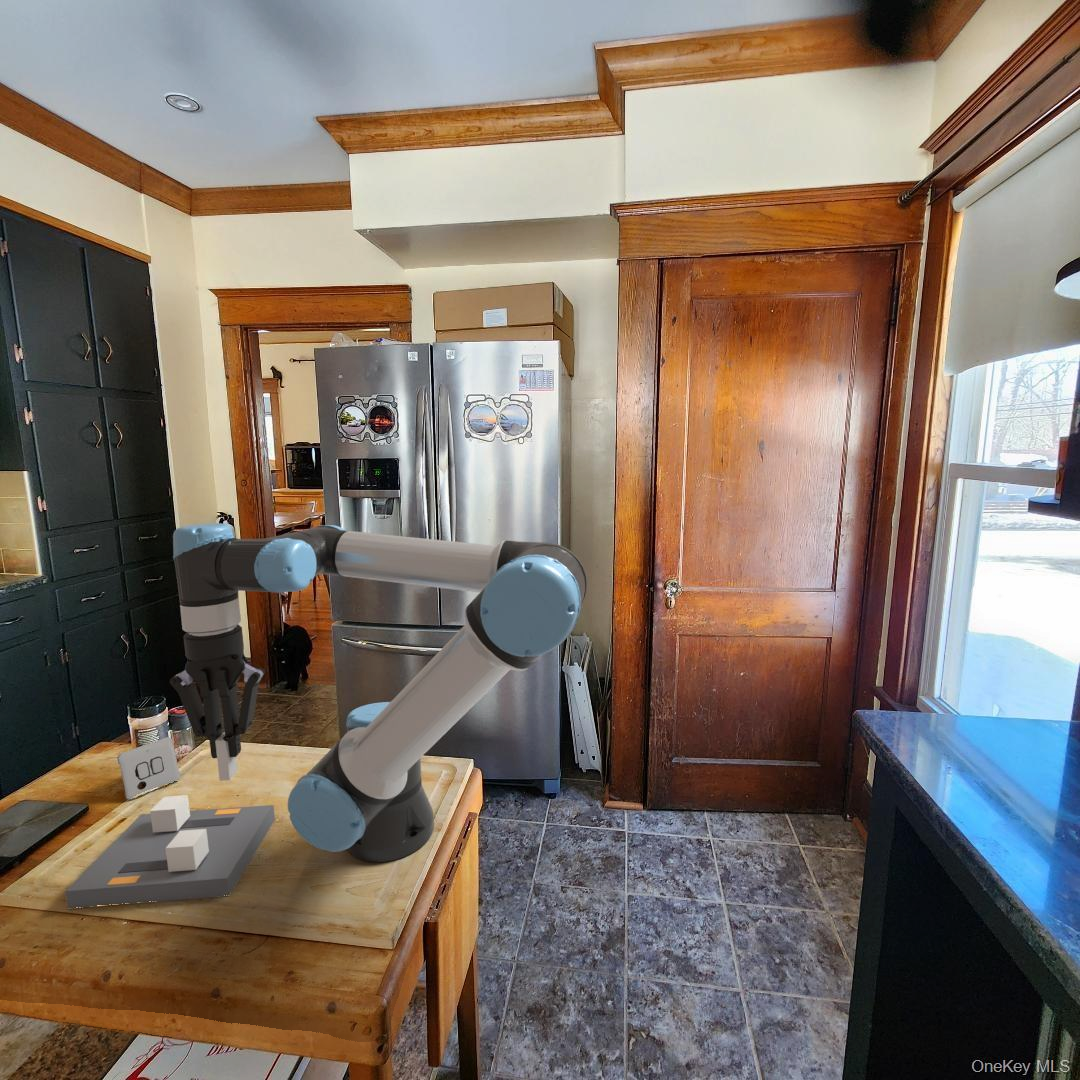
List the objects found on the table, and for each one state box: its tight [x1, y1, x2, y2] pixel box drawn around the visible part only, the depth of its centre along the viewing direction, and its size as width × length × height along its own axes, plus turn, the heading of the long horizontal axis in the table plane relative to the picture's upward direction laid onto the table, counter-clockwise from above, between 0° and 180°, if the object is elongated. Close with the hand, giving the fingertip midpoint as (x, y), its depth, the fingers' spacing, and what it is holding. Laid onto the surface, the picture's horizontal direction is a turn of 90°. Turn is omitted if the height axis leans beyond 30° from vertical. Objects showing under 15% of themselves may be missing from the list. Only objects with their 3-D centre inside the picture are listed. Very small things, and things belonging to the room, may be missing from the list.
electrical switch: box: [117, 736, 181, 801], centre depth 113 cm, size 9×5×9 cm, turn 141°
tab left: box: [166, 829, 209, 872], centre depth 87 cm, size 4×4×4 cm
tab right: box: [149, 794, 191, 833], centre depth 96 cm, size 4×4×4 cm
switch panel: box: [64, 804, 276, 909], centre depth 92 cm, size 23×18×3 cm
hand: (228, 775), depth 86 cm, fingers closed
